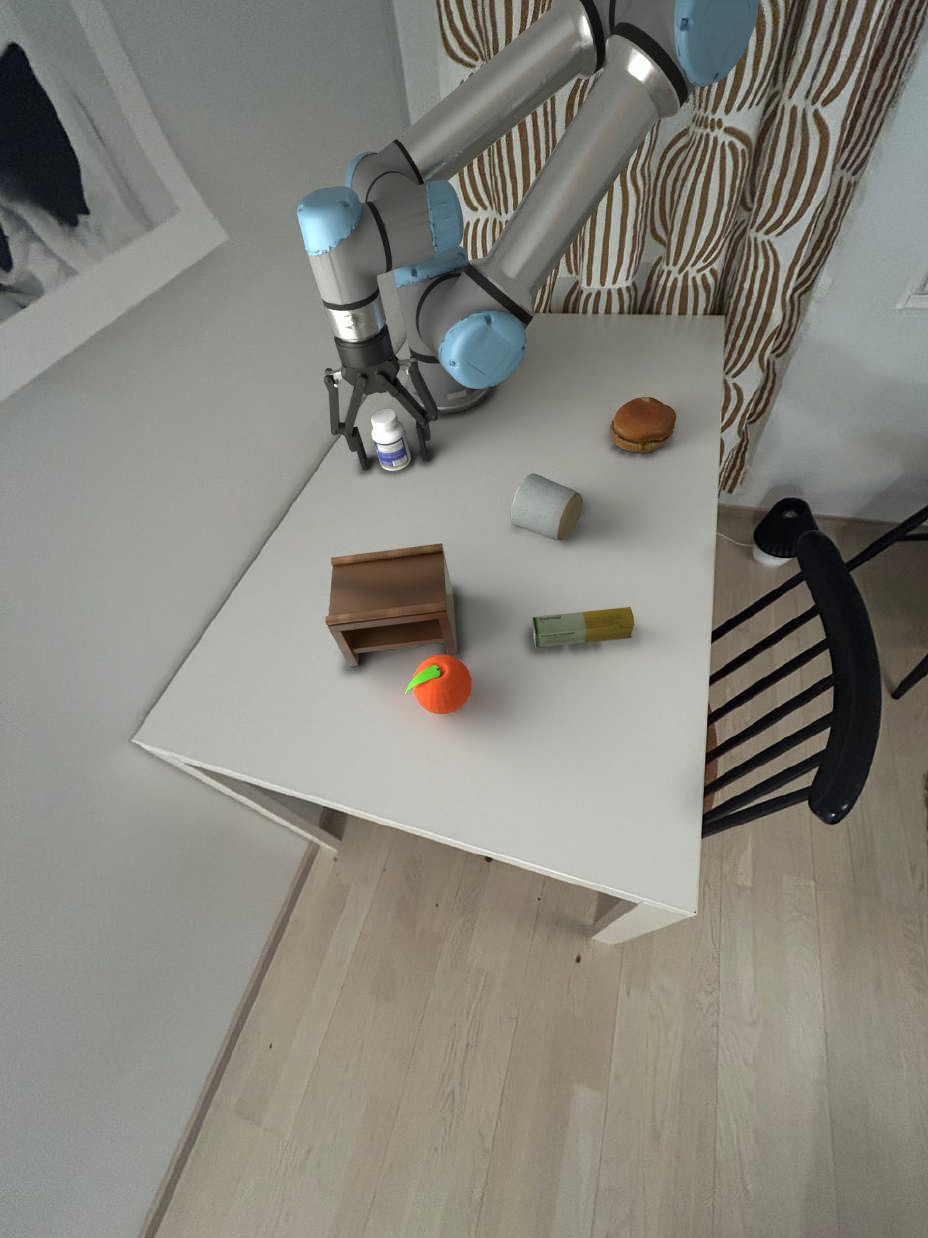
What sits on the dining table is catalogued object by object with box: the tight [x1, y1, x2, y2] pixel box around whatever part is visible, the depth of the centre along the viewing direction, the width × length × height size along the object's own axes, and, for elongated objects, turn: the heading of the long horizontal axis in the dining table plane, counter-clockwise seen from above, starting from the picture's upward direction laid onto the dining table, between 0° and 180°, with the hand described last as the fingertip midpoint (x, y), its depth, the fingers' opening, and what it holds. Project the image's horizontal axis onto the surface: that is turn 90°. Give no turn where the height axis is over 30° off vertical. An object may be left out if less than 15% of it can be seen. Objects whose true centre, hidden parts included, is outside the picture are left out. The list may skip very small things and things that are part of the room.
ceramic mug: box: [510, 473, 584, 541], centre depth 82 cm, size 11×8×8 cm
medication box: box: [531, 606, 635, 649], centre depth 72 cm, size 12×3×4 cm, turn 92°
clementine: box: [404, 654, 473, 715], centre depth 68 cm, size 8×7×7 cm
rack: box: [324, 542, 458, 667], centre depth 73 cm, size 10×14×10 cm
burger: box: [610, 396, 677, 454], centre depth 92 cm, size 10×9×5 cm
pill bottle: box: [370, 407, 412, 472], centre depth 94 cm, size 5×5×9 cm
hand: (395, 460), depth 97 cm, fingers open, 9 cm apart
